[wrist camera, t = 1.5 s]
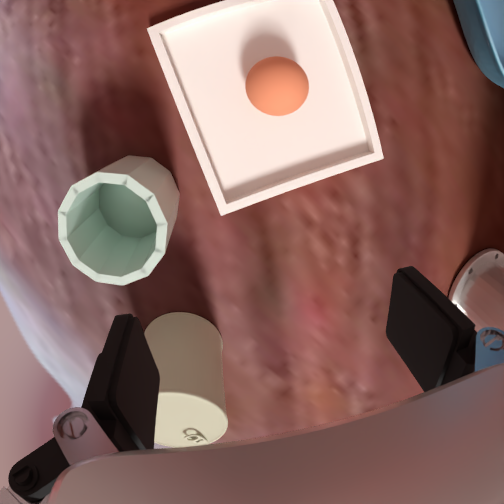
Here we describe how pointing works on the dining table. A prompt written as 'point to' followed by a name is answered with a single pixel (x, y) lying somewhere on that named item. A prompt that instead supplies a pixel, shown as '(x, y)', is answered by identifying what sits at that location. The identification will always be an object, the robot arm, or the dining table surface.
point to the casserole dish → (484, 34)
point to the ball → (277, 86)
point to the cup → (119, 220)
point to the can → (188, 380)
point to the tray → (250, 118)
